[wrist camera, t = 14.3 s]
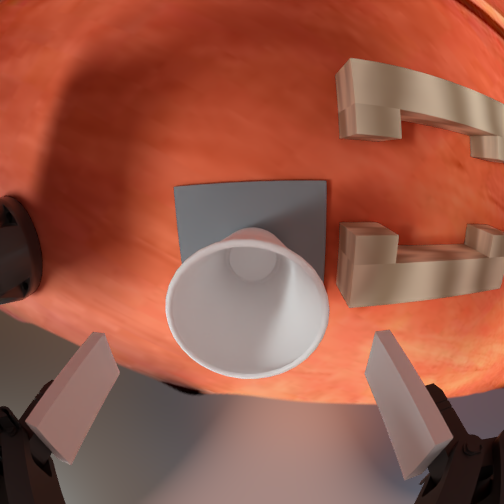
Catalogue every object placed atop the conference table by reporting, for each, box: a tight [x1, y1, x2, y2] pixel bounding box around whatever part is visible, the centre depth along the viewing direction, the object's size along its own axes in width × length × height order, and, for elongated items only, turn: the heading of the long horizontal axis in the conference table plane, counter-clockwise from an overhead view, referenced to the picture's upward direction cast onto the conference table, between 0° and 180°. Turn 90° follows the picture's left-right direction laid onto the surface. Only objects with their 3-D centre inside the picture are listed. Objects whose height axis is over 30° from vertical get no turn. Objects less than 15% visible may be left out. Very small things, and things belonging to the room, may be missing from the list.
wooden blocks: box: [335, 58, 504, 308], centre depth 21 cm, size 21×21×5 cm
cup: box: [166, 227, 330, 379], centre depth 21 cm, size 10×10×11 cm
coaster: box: [174, 180, 327, 283], centre depth 26 cm, size 14×14×1 cm
